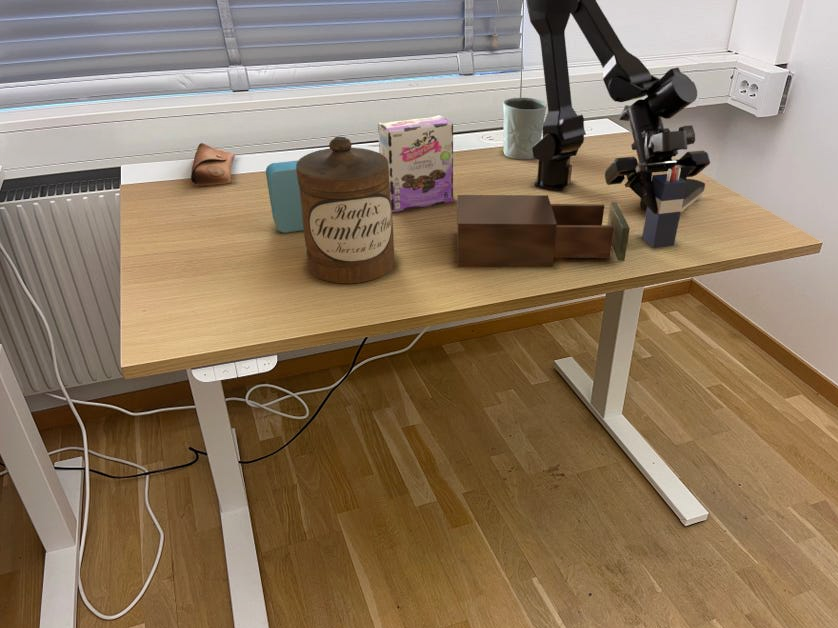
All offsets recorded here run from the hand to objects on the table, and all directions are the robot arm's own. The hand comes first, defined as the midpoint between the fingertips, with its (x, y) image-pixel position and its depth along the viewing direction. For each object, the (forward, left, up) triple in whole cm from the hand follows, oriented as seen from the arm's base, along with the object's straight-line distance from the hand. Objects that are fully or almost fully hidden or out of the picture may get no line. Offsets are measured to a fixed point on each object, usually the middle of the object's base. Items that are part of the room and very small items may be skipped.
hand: (667, 211), depth 127 cm
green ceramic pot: (-41, +36, -7) cm, 55 cm away
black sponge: (-2, +20, -7) cm, 21 cm away
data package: (-64, -21, -7) cm, 68 cm away
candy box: (-50, -2, -7) cm, 50 cm away
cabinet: (-26, -15, -7) cm, 31 cm away
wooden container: (-48, -31, -7) cm, 57 cm away
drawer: (-13, -9, -6) cm, 17 cm away
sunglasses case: (-99, -6, -7) cm, 99 cm away
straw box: (-1, +1, -7) cm, 7 cm away
